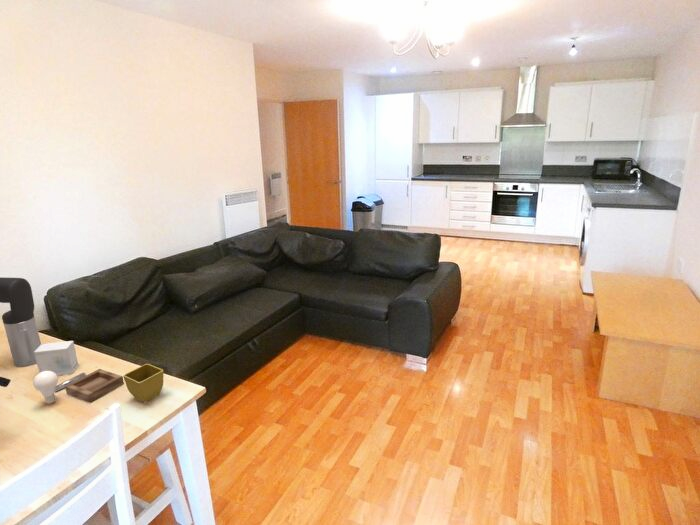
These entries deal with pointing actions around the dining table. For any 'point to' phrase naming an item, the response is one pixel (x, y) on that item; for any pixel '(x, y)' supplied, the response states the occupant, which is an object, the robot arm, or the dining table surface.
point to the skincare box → (57, 357)
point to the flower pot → (144, 382)
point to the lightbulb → (46, 384)
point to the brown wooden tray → (94, 385)
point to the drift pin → (69, 382)
